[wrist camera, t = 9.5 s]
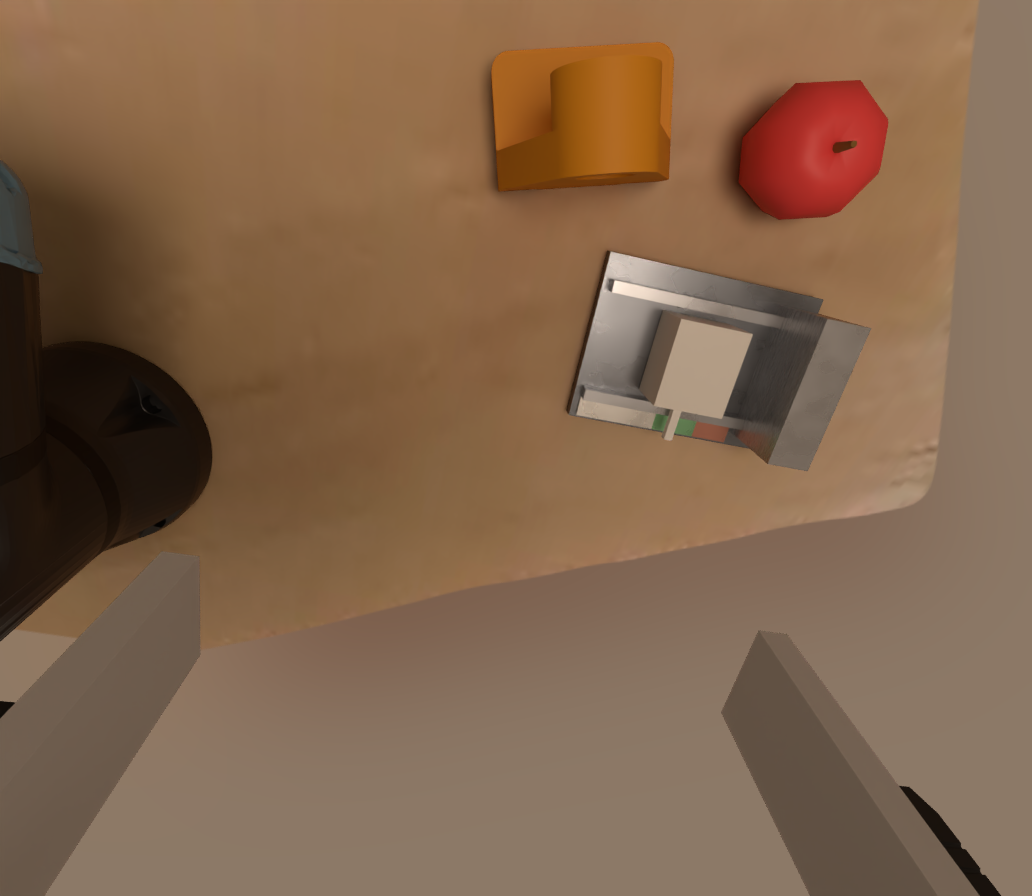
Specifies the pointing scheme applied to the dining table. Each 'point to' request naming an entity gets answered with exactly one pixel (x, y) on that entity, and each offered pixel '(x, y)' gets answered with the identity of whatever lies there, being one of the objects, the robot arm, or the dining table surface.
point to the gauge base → (762, 377)
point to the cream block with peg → (693, 366)
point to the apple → (813, 150)
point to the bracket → (582, 115)
